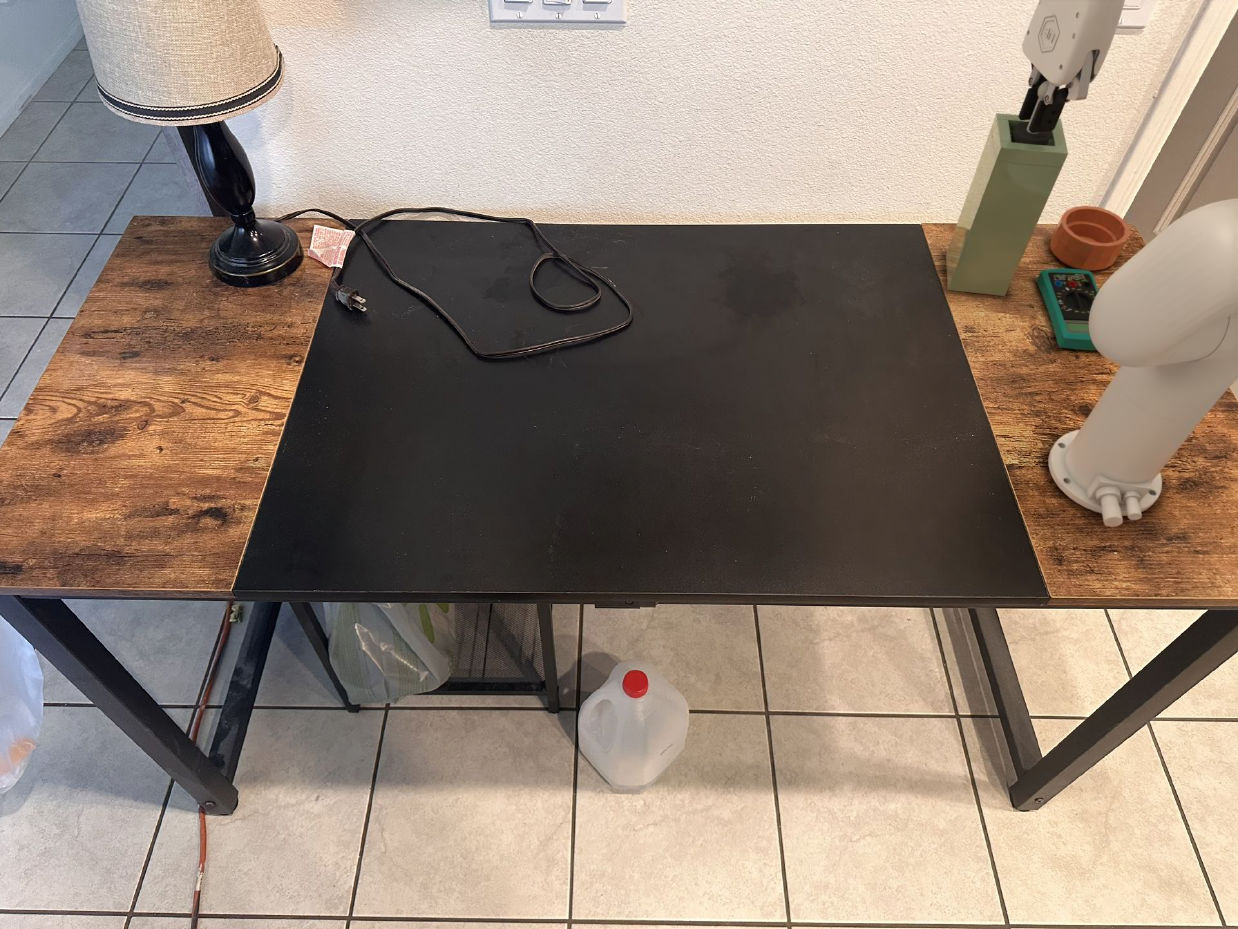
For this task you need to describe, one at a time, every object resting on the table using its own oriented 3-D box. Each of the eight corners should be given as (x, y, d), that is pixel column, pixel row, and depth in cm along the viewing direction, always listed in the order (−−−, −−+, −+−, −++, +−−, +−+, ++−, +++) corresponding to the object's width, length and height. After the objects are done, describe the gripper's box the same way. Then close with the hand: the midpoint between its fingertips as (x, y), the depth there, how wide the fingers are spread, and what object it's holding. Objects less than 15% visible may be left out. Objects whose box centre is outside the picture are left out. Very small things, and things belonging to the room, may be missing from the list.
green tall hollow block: (1004, 296, 123) (1068, 153, 105) (947, 290, 124) (1001, 147, 106) (1000, 261, 128) (1061, 118, 110) (945, 255, 129) (996, 112, 111)
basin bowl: (1119, 276, 126) (1135, 249, 122) (1051, 269, 127) (1065, 242, 123) (1109, 237, 131) (1124, 209, 127) (1045, 230, 132) (1057, 202, 128)
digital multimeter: (1084, 281, 125) (1093, 265, 123) (1112, 353, 116) (1122, 337, 114) (1033, 279, 126) (1040, 263, 123) (1057, 351, 116) (1065, 335, 114)
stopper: (1047, 156, 108) (1074, 92, 101) (1010, 153, 108) (1035, 89, 102) (1043, 137, 110) (1069, 73, 104) (1008, 134, 111) (1031, 70, 104)
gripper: (1031, -61, 97) (980, 94, 112) (1102, 2, 87) (1035, 163, 102) (1094, -66, 98) (1035, 89, 112) (1170, -4, 88) (1095, 157, 102)
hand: (1035, 123), depth 107 cm, fingers closed on stopper, 2 cm apart
